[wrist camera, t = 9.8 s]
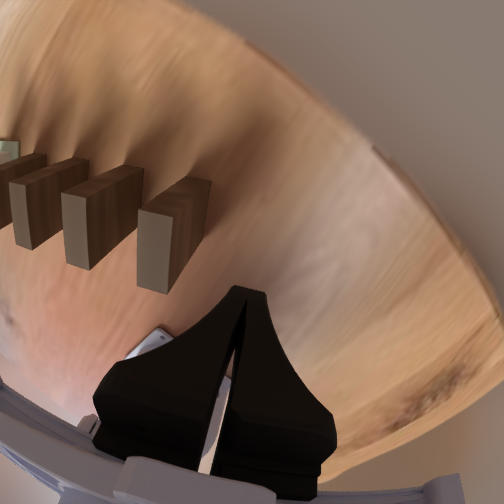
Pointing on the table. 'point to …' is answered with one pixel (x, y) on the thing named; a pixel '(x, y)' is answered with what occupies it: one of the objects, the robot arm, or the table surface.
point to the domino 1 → (4, 157)
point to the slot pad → (10, 148)
